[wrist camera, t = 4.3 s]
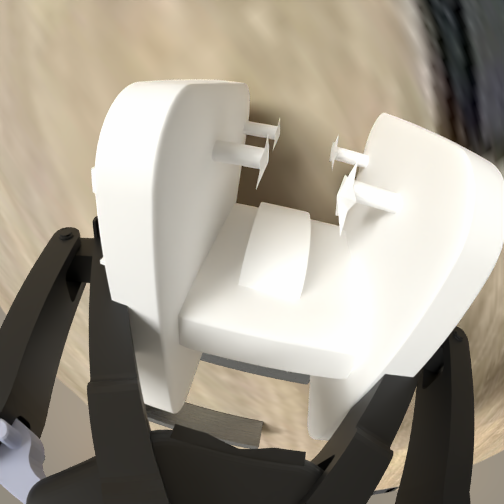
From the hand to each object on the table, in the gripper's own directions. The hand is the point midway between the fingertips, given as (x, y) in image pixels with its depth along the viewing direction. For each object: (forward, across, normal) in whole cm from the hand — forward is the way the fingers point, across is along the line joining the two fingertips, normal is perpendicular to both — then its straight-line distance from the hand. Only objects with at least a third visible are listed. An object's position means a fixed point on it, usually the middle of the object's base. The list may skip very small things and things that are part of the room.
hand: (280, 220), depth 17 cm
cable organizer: (+2, 0, 0) cm, 2 cm away
